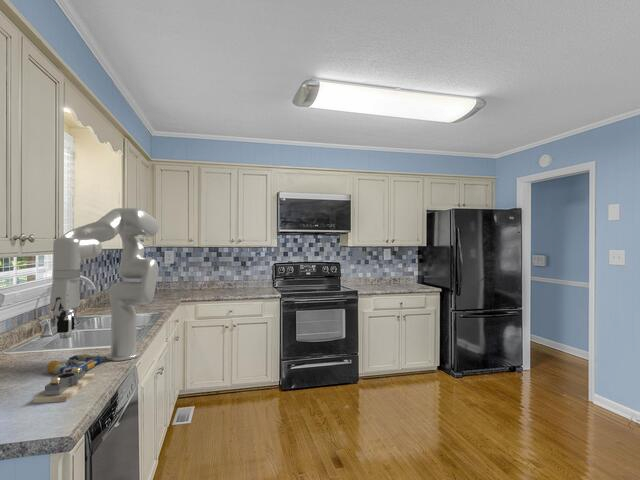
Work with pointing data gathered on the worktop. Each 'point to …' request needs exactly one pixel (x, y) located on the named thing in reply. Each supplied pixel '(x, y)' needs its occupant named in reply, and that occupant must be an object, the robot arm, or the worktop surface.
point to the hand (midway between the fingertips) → (65, 330)
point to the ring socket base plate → (64, 386)
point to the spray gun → (75, 364)
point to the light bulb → (68, 334)
